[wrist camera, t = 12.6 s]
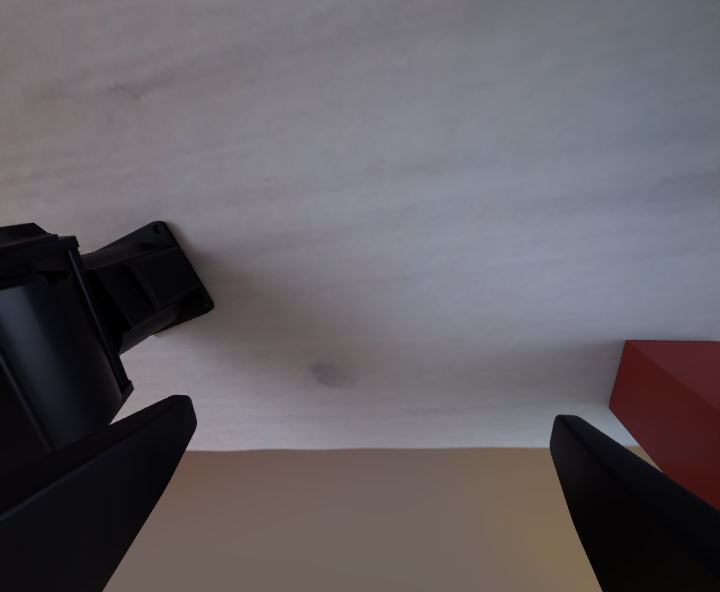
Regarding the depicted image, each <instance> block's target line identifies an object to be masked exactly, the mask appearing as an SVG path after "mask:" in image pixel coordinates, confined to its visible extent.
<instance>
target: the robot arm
mask: <svg viewBox="0 0 720 592" xmlns="http://www.w3.org/2000/svg"><path fill="white" fill-rule="evenodd" d="M158 226H159V227H160V229H161V232H160V231H159V230H158ZM77 247H80V246H79V244H78V241H77V239H76V236H62V237H58V235H57V234H51V233H47V232H46V231H45V230H43V229H42V228H41V227H39V226H38V225H36V224H35V223H26V224H18V225H11V226H4V227H0V592H102V591H103V590H104V588H105V586H106V585H107V583H108V581H109V580H110V578H111V577H112V575H113V573H114V572H115V570H116V569H117V567H118V565H119V564H120V562H121V560H122V559H123V557H124V555H125V554H126V552H127V550H128V549H129V547H130V546H131V544H132V543H133V541H134V539H135V538H136V536H137V535H138V533H139V531H140V529H141V528H142V526H143V525H144V523H145V522H146V520H147V518H148V517H149V515H150V513H151V512H152V510H153V509H154V507H155V505H156V504H157V502H158V500H159V499H160V497H161V496H162V494H163V492H164V490H165V489H166V487H167V485H168V483H169V481H170V480H171V478H172V475H173V474H174V472H175V470H176V468H177V466H178V464H179V462H180V460H181V458H182V456H183V454H184V452H185V450H186V448H187V446H188V444H189V442H190V440H191V438H192V436H193V434H194V432H195V430H196V426H197V419H196V415H195V411H194V407H193V404H192V400H191V398H190V397H189V396H187V395H172V396H169V397H167V398H165V399H163V400H161V401H159V402H157V403H155V404H153V405H151V406H149V407H146V408H144V409H142V410H140V411H138V412H136V413H134V414H132V415H130V416H128V417H126V418H123V419H121V420H119V421H117V422H115V423H113V424H111V425H109V424H110V423H111V422H112V420H113V419H114V417H115V416H116V415H117V413H118V412H119V410H120V409H121V407H122V406H123V405H124V403H125V402H126V400H127V399H128V397H129V396H130V395H131V393H132V392H133V390H134V387H133V384H132V382H131V380H128V377H127V375H126V372H125V370H124V367H123V365H122V362H121V359H120V357H119V356H120V355H121V354H123V353H125V352H126V351H128V350H129V349H131V348H132V347H134V346H135V345H137V344H138V343H140V342H141V341H143V340H145V339H146V338H148V337H149V336H151V335H153V334H156V333H158V332H161V331H163V330H166V329H168V328H171V327H173V326H176V325H178V324H181V323H183V322H186V321H188V320H191V319H193V318H196V317H198V316H201V315H203V314H206V313H208V312H209V311H211V310H212V309H213V308H214V303H213V301H212V299H211V298H210V296H209V294H208V293H207V291H206V289H205V288H204V286H203V284H202V283H201V281H200V279H199V277H198V276H197V274H196V272H195V271H194V269H193V267H192V266H191V264H190V262H189V261H188V259H187V257H186V255H185V254H184V252H183V250H182V249H181V247H180V246H179V244H178V242H177V241H176V239H175V237H174V236H173V234H172V232H171V231H170V229H169V227H168V226H167V224H166V223H165V222H163V221H155V222H152V223H150V224H148V225H146V226H144V227H142V228H140V229H138V230H136V231H134V232H132V233H130V234H128V235H126V236H124V237H122V238H120V239H119V240H117V241H115V242H113V243H111V244H109V245H107V246H105V247H103V248H101V249H99V250H97V251H95V252H91V253H87V254H83V255H80V253H79V251H78V248H77ZM203 303H205V304H206V305H207V307H205V306H204V304H203ZM550 452H551V456H552V459H553V462H554V465H555V468H556V471H557V475H558V477H559V481H560V484H561V487H562V490H563V493H564V496H565V499H566V503H567V505H568V509H569V512H570V515H571V518H572V521H573V523H574V526H575V529H576V531H577V533H578V536H579V538H580V540H581V543H582V545H583V548H584V550H585V552H586V555H587V557H588V559H589V561H590V564H591V566H592V568H593V571H594V573H595V575H596V577H597V580H598V582H599V584H600V587H601V589H602V591H603V592H720V511H719V510H718V509H716V508H715V507H713V506H712V505H710V504H709V503H707V502H706V501H704V500H703V499H701V498H700V497H698V496H697V495H695V494H694V493H692V492H691V491H689V490H688V489H686V488H685V487H683V486H682V485H680V484H679V483H677V482H676V481H674V480H673V479H671V478H670V477H668V476H667V475H665V474H664V473H662V472H661V471H659V470H658V469H656V468H655V467H653V466H652V465H650V464H649V463H647V462H646V461H644V460H643V459H641V458H640V457H638V456H637V455H635V454H634V453H632V452H631V451H629V450H628V449H626V448H625V447H623V446H622V445H620V444H619V443H618V442H616V441H615V440H613V439H612V438H610V437H609V436H607V435H606V434H604V433H603V432H601V431H600V430H598V429H597V428H595V427H594V426H592V425H591V424H589V423H588V422H586V421H585V420H583V419H582V418H580V417H578V416H576V415H557V416H556V417H555V420H554V424H553V429H552V434H551V439H550Z"/></svg>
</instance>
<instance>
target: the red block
mask: <svg viewBox="0 0 720 592" xmlns="http://www.w3.org/2000/svg"><path fill="white" fill-rule="evenodd" d="M609 409H610V410H611V412H612V413H613V414H614V415H615V416H616V417H617V419H618V420H619V421H620V422H621V423H622V425H623V426H624V427H625V428H626V429H627V430H628V432H629V433H630V434H631V435H632V436H633V438H634V439H635V440H636V441H637V442H638V443H639V445H640V446H641V447H642V448H643V449H644V450H645V452H646V453H647V454H648V455H649V456H650V458H651V459H652V460H653V461H654V462H655V464H656V465H657V466H658V467H659V468H660V469H661V471H662V472H663V473H664V474H665V475H667V476H668V477H670V478H671V479H673V480H674V481H676V482H677V483H679V484H680V485H682V486H683V487H685V488H686V489H688V490H689V491H691V492H692V493H694V494H695V495H697V496H698V497H700V498H701V499H703V500H704V501H706V502H707V503H709V504H710V505H712V506H713V507H715V508H716V509H718V510H719V511H720V342H712V341H653V340H626V342H625V346H624V350H623V354H622V357H621V361H620V365H619V369H618V373H617V377H616V380H615V384H614V388H613V392H612V396H611V400H610V403H609Z"/></svg>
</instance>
